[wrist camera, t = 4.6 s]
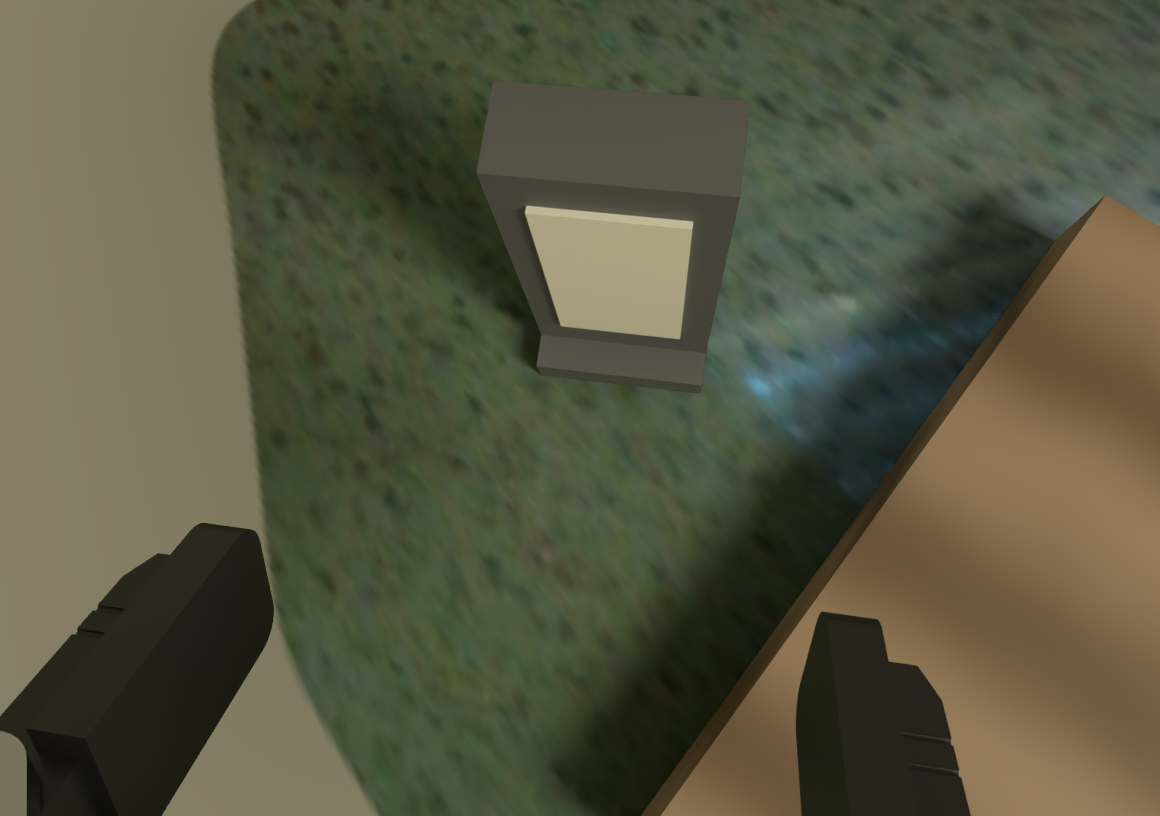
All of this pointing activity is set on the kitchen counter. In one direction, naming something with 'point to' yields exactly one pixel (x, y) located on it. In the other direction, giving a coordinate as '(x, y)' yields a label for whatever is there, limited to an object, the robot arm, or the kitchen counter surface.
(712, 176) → the picture frame
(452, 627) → the kitchen counter surface
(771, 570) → the kitchen counter surface
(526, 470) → the kitchen counter surface
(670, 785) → the wooden block
